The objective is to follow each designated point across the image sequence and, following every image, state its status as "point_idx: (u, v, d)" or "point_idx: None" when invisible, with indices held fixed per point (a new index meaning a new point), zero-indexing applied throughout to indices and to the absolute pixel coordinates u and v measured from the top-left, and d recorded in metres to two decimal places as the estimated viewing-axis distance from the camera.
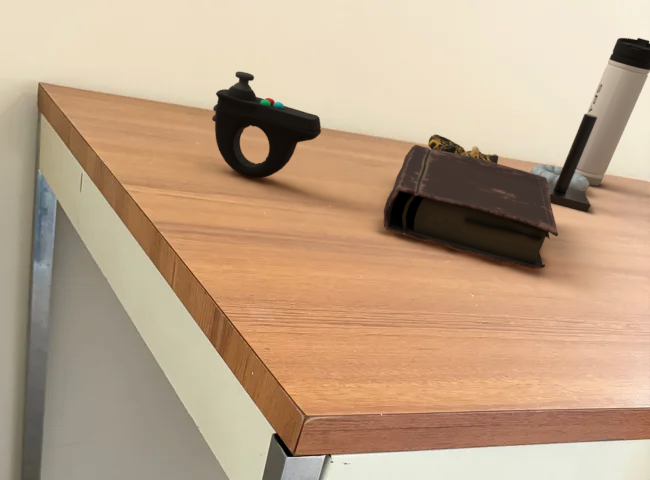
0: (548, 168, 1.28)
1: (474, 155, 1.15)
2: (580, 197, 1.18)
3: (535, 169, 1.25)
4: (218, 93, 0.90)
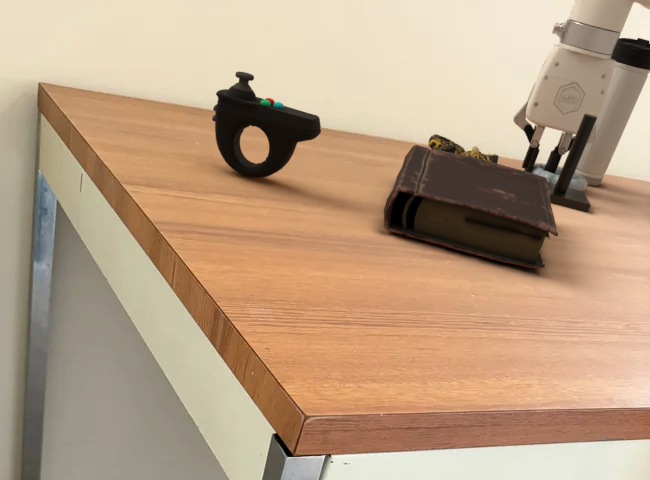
0: None
1: (474, 155, 1.15)
2: (580, 197, 1.18)
3: (534, 169, 1.25)
4: (218, 93, 0.90)
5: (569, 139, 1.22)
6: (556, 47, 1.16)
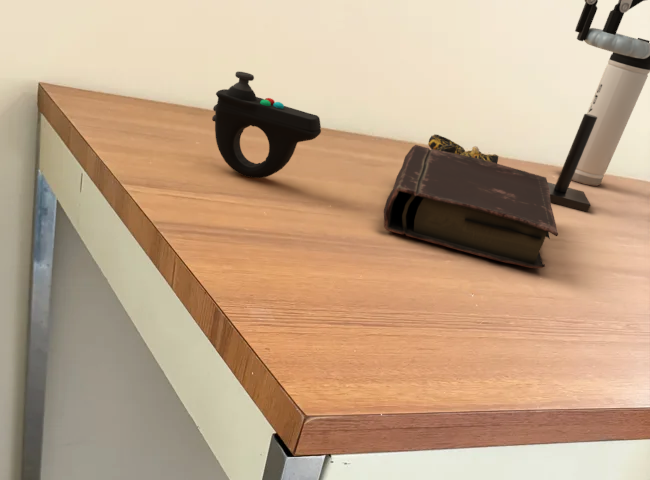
0: None
1: (474, 155, 1.15)
2: (580, 197, 1.18)
3: (590, 31, 1.08)
4: (218, 93, 0.90)
5: None
6: None
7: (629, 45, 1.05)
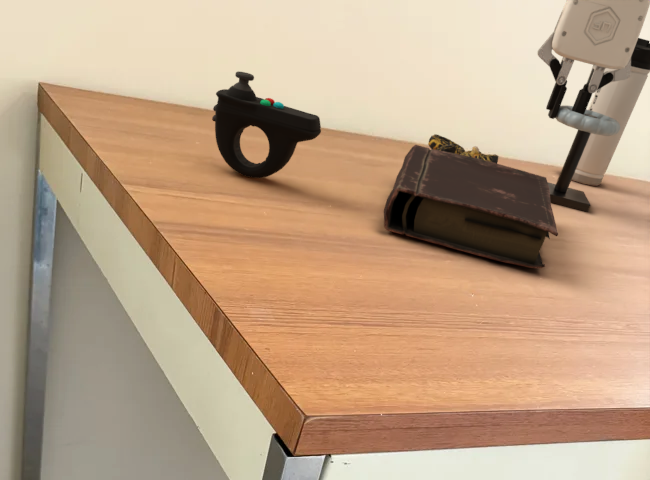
0: None
1: (474, 155, 1.15)
2: (580, 197, 1.18)
3: (560, 110, 1.12)
4: (218, 93, 0.90)
5: (601, 75, 1.09)
6: None
7: (597, 124, 1.09)
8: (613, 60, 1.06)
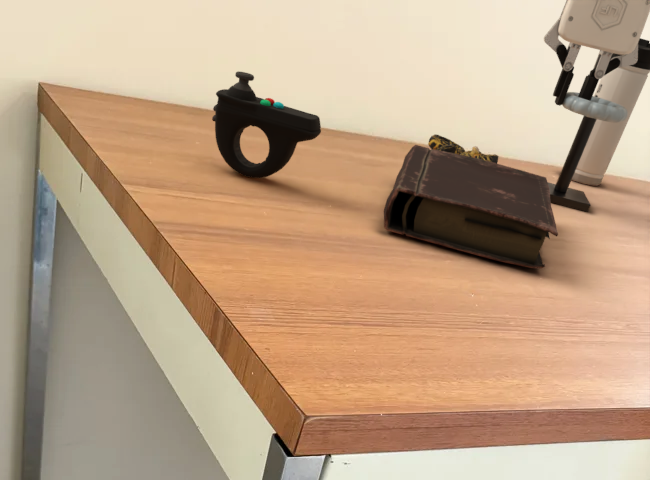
0: None
1: (474, 155, 1.15)
2: (580, 197, 1.18)
3: (567, 96, 1.11)
4: (218, 93, 0.90)
5: (607, 60, 1.08)
6: None
7: (605, 111, 1.08)
8: (620, 44, 1.05)
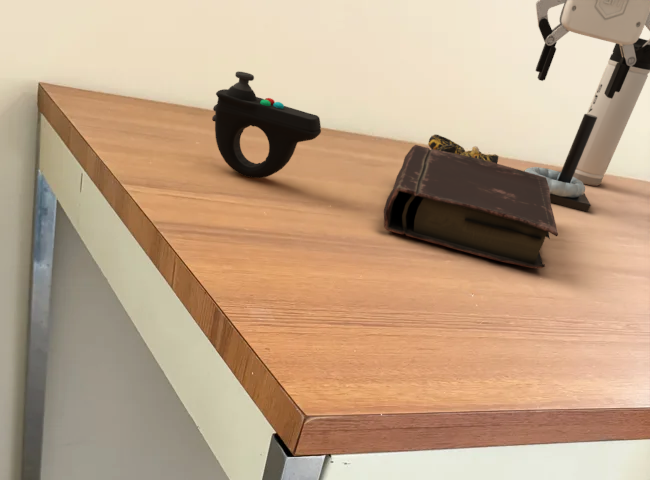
0: (541, 171, 1.20)
1: (474, 155, 1.15)
2: (580, 197, 1.18)
3: None
4: (218, 93, 0.90)
5: (631, 46, 1.06)
6: None
7: (563, 188, 1.14)
8: (624, 35, 1.04)
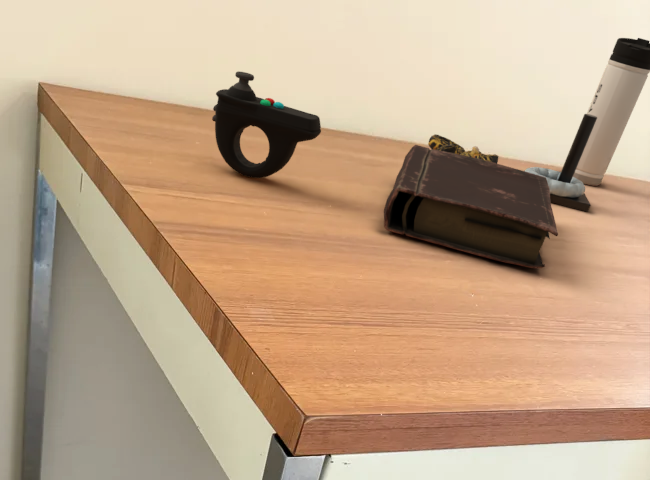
0: (541, 171, 1.20)
1: (474, 155, 1.15)
2: (580, 197, 1.18)
3: None
4: (218, 93, 0.90)
5: None
6: None
7: (563, 188, 1.14)
8: None
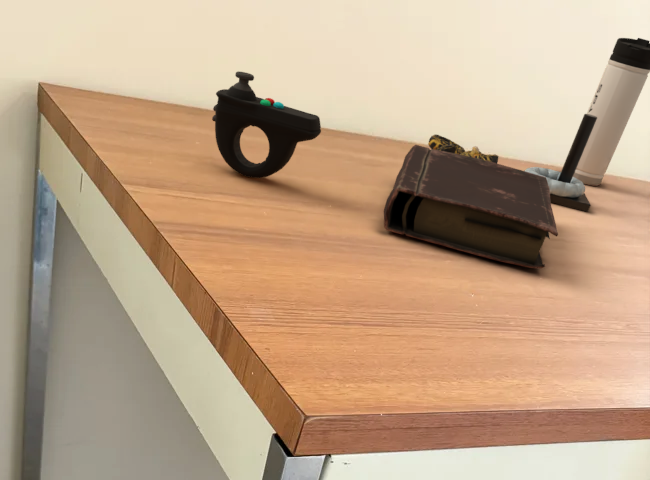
0: (541, 171, 1.20)
1: (474, 155, 1.15)
2: (580, 197, 1.18)
3: None
4: (218, 93, 0.90)
5: None
6: None
7: (563, 188, 1.14)
8: None
